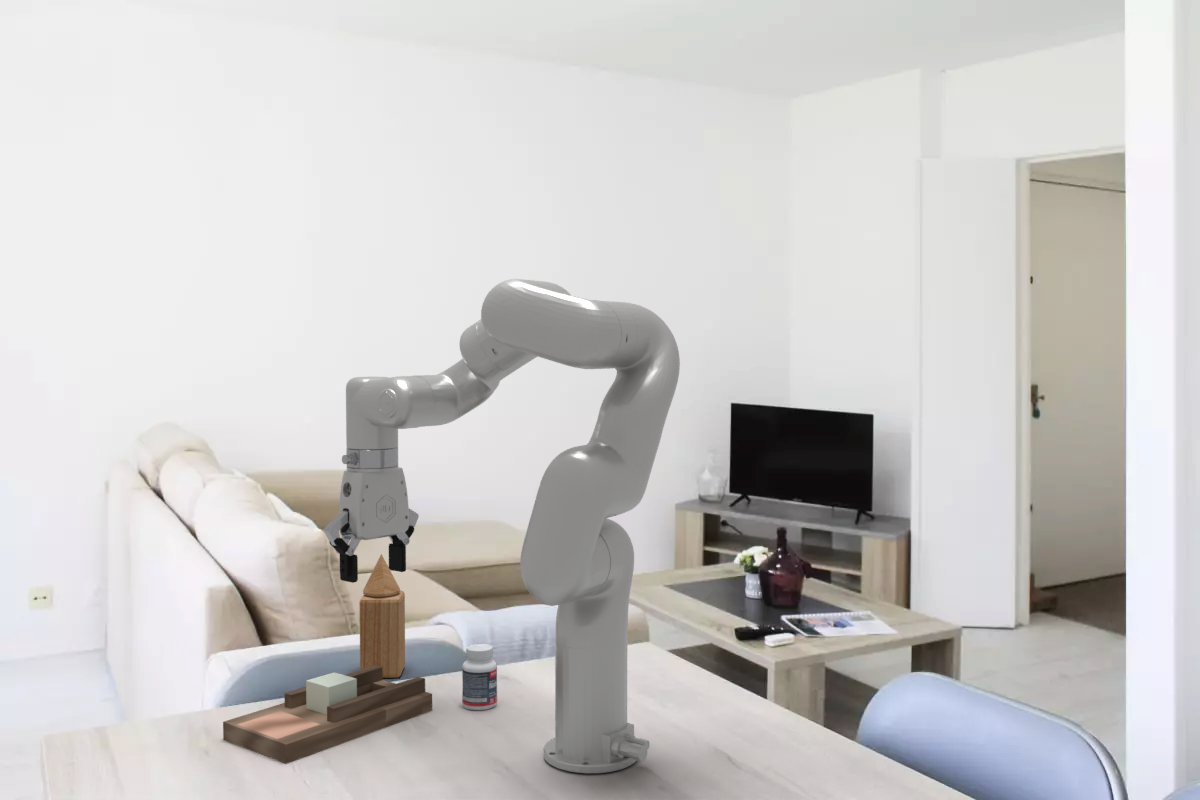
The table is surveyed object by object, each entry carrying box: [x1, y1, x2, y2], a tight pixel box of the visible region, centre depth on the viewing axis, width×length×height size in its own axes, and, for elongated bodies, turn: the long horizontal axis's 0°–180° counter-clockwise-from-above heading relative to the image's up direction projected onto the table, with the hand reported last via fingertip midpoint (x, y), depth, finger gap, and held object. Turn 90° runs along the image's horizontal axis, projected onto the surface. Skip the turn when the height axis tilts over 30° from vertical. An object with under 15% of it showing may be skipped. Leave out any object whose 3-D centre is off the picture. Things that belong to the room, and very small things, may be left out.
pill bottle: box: [461, 643, 498, 711], centre depth 162 cm, size 5×5×9 cm
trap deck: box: [222, 666, 433, 764], centre depth 154 cm, size 14×26×4 cm, turn 143°
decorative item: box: [359, 554, 406, 679], centre depth 178 cm, size 7×7×20 cm
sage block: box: [305, 671, 357, 715], centre depth 154 cm, size 5×5×4 cm
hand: (373, 575), depth 160 cm, fingers open, 8 cm apart
